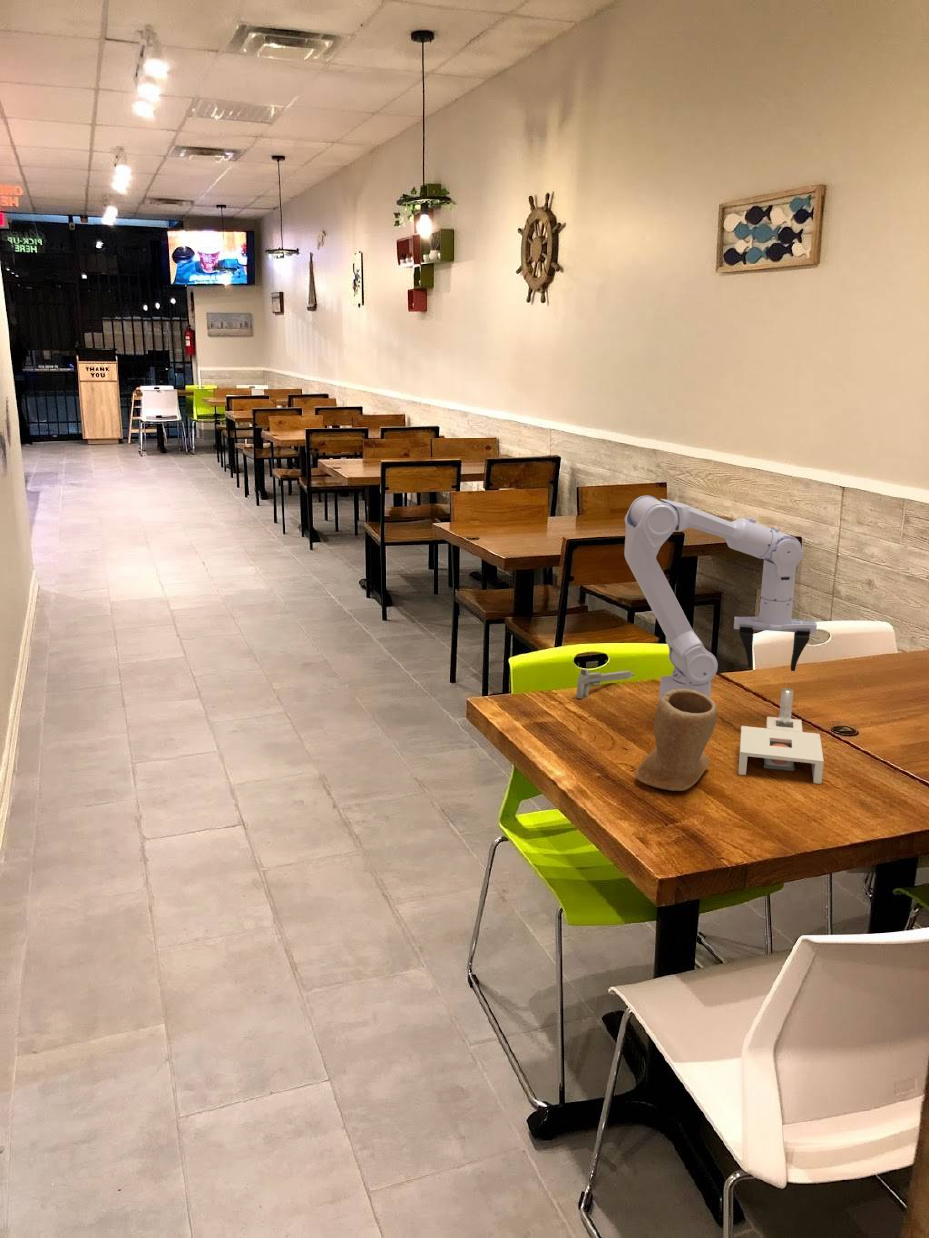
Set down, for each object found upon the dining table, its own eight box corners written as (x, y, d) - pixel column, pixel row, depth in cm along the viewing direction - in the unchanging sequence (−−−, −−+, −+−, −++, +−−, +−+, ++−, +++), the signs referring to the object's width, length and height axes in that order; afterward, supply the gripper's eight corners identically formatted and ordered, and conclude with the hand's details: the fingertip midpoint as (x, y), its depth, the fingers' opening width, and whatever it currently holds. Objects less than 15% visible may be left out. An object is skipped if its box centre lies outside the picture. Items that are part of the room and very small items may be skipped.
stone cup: (698, 803, 150) (704, 713, 145) (626, 786, 156) (630, 699, 152) (727, 769, 162) (734, 685, 158) (660, 754, 168) (664, 672, 164)
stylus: (777, 738, 175) (781, 691, 172) (777, 734, 176) (781, 687, 174) (789, 739, 174) (793, 692, 172) (788, 735, 176) (793, 689, 174)
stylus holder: (766, 741, 173) (767, 728, 173) (765, 729, 179) (767, 716, 178) (801, 744, 172) (802, 731, 171) (800, 732, 177) (801, 719, 177)
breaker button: (764, 767, 162) (765, 750, 161) (764, 756, 166) (765, 739, 166) (794, 771, 161) (795, 753, 160) (793, 760, 165) (794, 742, 164)
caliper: (581, 701, 194) (582, 671, 192) (576, 700, 195) (577, 670, 193) (634, 676, 209) (635, 648, 207) (629, 675, 210) (631, 647, 208)
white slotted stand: (738, 774, 160) (740, 751, 159) (739, 746, 171) (741, 725, 170) (821, 783, 156) (823, 761, 155) (817, 755, 167) (819, 733, 166)
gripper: (735, 600, 175) (730, 671, 179) (819, 605, 171) (813, 677, 175) (736, 591, 182) (731, 659, 186) (817, 596, 178) (811, 665, 182)
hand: (771, 667), depth 181 cm, fingers open, 7 cm apart
